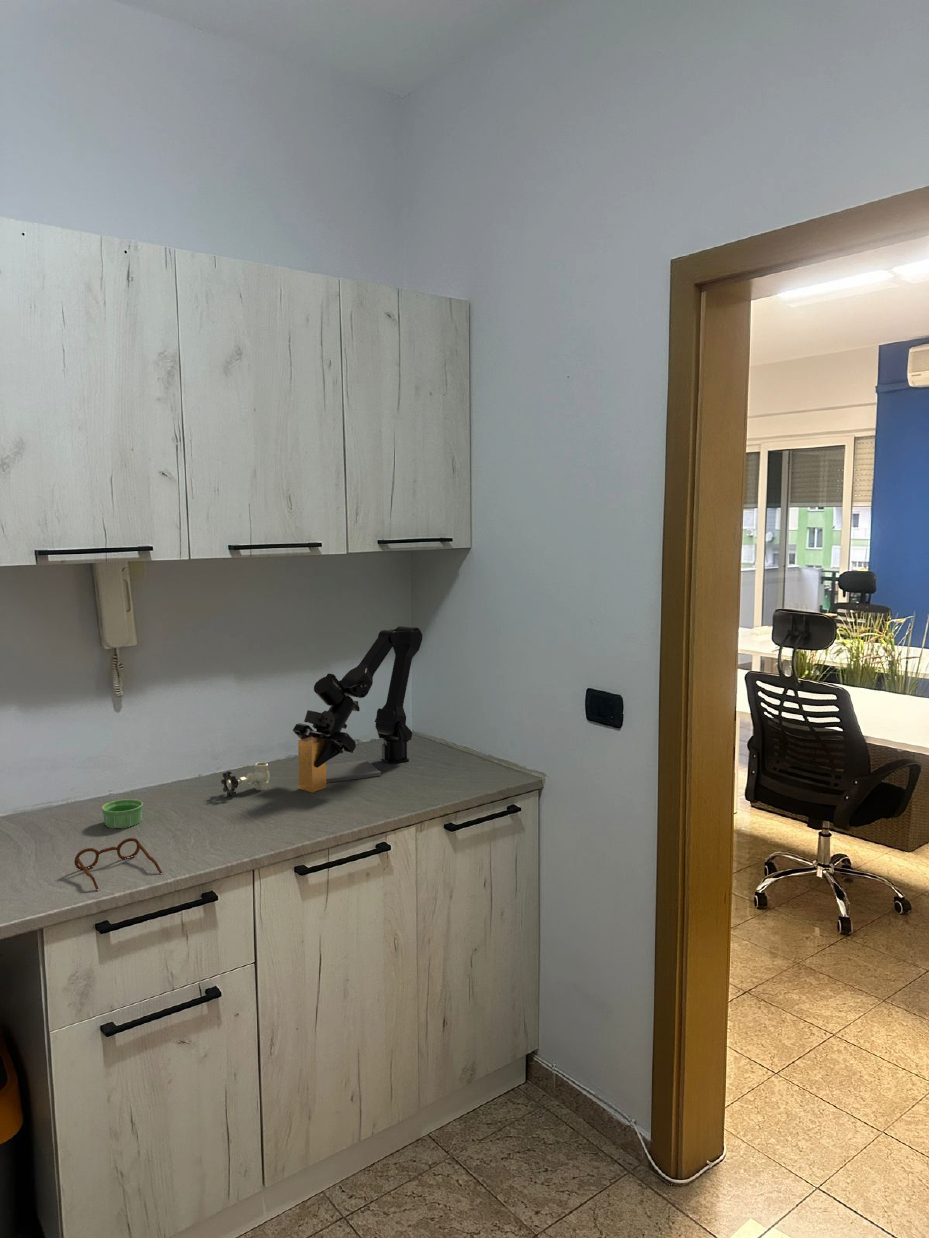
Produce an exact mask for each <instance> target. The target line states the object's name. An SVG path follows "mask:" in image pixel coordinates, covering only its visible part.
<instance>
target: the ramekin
mask: <svg viewBox="0 0 929 1238" xmlns="http://www.w3.org/2000/svg"><path fill="white" fill-rule="evenodd" d="M143 807H144V802H143V801H141V800H139V799H135V798H127V799H126V798H125V799H123V798H122V799H117V800H113V801H109V802H107V803H105V804H103V805H102V806H101V810H102V816H103V821H104V822H103V823H104V826H105V825H106V826H107V827H106V826H105V827H106V828H108V827H110V828H109V829H113V828H122V829H126V828H125V827H129V826H132V827H134V826H133V825H135V826H137V825H139V824H140V823H141V822H142V815H143ZM140 821H141V822H140ZM139 822H140V823H139ZM138 823H139V824H138ZM136 824H137V825H136ZM129 828H130V827H129Z"/></svg>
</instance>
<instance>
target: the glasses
mask: <svg viewBox="0 0 929 1238" xmlns="http://www.w3.org/2000/svg"><path fill="white" fill-rule="evenodd" d="M129 842H134V843H135V844H136V849H135V850H134V852H133V853H131V855H127V856H125V855H122V854H121V849H122V846H124V845H125V844H126V843H129ZM140 850H141V852H142V853H143V855H145V857H146V858H147V859H148V860H149V861H150V862H152V863H153V864H154V867H156V869H157V871H159V872H160V873H163V871H162V870H161V868H160V866H159V864H158V862H157V860H156V859H155V858H154V857H152V856H151V855H150V854H149V852H148V851H147V850H146V849H145V848H144V847H143V845H142V844H141V843H140V841H139V840H138V839H137V838H136V837H135V838H134V837H129V838H126V839H123V840H122V841H121V842H120V843H119V844H118V845H117V846H110V847H106V848H103V849H100V850H99V851H98V850H97V849H96V848H93V847H87V848H84V849H81V850H80V851H79V852H78V853H77V854H76V855H75V857H74V861H73V863H74V866H75V868H76V869H78V870H79V869H83V870H82V871H83V872H84V874H85V875H86V876H87V877H89V878H90V879H91V881H92V883H93V885H94V888H95V890H96V889H99V886H98V884H97V882H96V880H95V879H96V878H95V877H94V875H93V874H92V873H91V872H89V870H88V869H86V868H88V867H92V866H94V867H95V866H96V865H97V864H98V861H99V858H100V855H101V854H104V853H107V852H111V851H116V853H117V857H118V858H119V859H120V860H123V859H124V860H126V859H125V858H127V857H131V856H134V855H136V856H137V855H138V854H139V852H140ZM87 852H93V853H94V854H95V857H94V861H93V862H92V863H91V864H90V865H87V866H85V865H84V864H83V862H82V861H81V859H80V857H81V855H84V854H85V853H87ZM134 857H135V856H134ZM92 868H93V867H92ZM159 872H158V873H159ZM160 873H159V874H160Z"/></svg>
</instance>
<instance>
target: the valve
mask: <svg viewBox="0 0 929 1238" xmlns="http://www.w3.org/2000/svg"><path fill="white" fill-rule="evenodd" d="M268 764H269V763H268V762H265V761H264V762H263V761H262V762H261V761H260V762H255V763H254V772H249V773H247V774H246V776H242V777H239V778H236V776H235V775H232V774H233V773H232V771H231V770H229V771H226V772H222V773H221V774H222V777H223V779H221V781H220V783H221V784H222V785H223V788H222V791H223V793H226V796H227V798H228V797H229V798H231V797H232V796H236V794H237V791H236V789H237V788H238V786H239V785H240V786H241V785H245V784H248V785H249V786H251V785H255V787H254V788H255V789H256V791H266V790H268V789H269V781H270V778H271V777H270V770H269V765H268Z"/></svg>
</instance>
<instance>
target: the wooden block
mask: <svg viewBox="0 0 929 1238" xmlns="http://www.w3.org/2000/svg"><path fill="white" fill-rule="evenodd" d="M297 741H298V743H297V744H298V745H297V747H298V750H297V751H298V789H299V790H302V791H306V792H309V793H316V792H318V791H321V790H323V789H326V788H327V783H326V765H327V762H325V763H324V764H322V765H321V766H319V767H318V768H316V767H315V763H316V760H317V758H318V757H319V755H320V753H321V751H322V749H323V747H324V739H322V738H317V737H313V736H312V737H308V738H305V739H298V740H297Z"/></svg>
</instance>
